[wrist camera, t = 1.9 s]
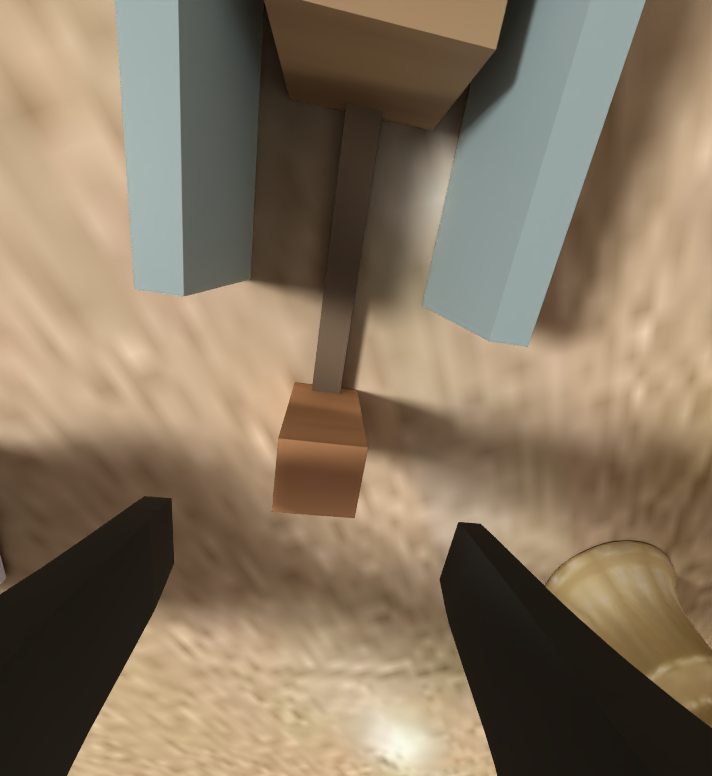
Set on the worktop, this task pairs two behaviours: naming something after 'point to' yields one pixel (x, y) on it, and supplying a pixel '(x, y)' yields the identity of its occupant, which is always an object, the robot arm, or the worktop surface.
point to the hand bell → (640, 617)
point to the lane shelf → (468, 176)
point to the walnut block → (360, 191)
